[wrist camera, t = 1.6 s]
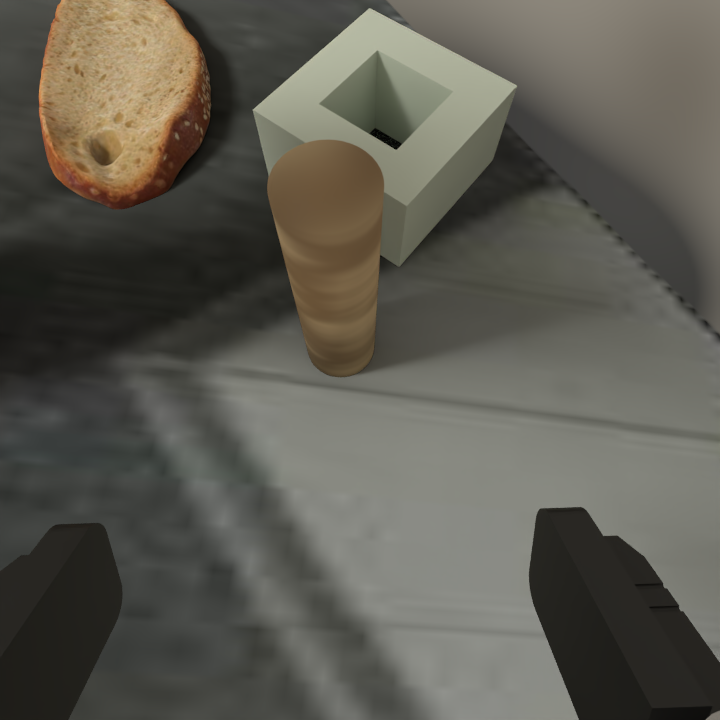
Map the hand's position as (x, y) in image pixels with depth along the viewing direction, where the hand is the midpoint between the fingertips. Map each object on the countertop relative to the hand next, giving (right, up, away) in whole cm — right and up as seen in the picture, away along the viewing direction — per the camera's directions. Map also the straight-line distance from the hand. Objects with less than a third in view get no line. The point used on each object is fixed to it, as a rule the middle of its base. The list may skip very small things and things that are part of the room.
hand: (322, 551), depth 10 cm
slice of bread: (-17, +23, +29) cm, 41 cm away
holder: (+2, +17, +26) cm, 31 cm away
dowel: (0, +4, +21) cm, 21 cm away
